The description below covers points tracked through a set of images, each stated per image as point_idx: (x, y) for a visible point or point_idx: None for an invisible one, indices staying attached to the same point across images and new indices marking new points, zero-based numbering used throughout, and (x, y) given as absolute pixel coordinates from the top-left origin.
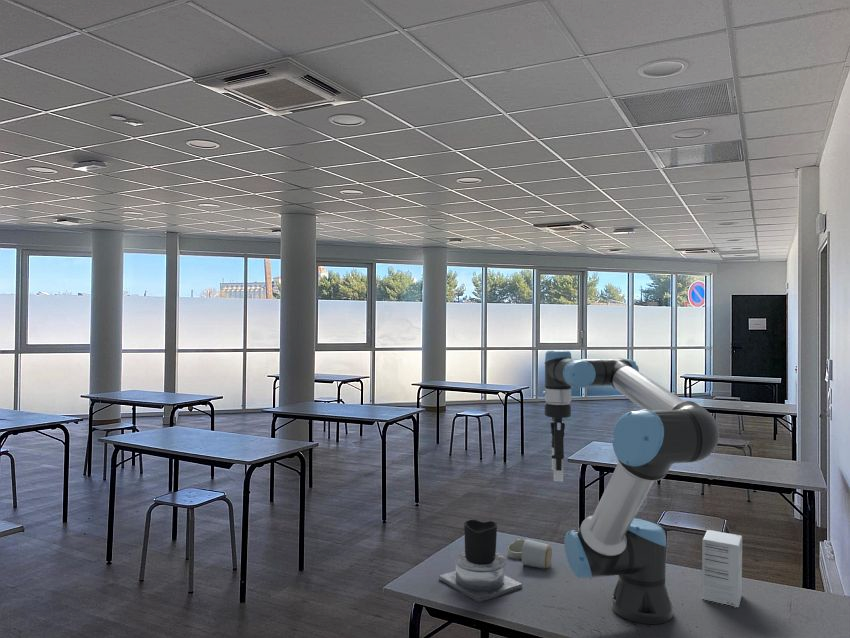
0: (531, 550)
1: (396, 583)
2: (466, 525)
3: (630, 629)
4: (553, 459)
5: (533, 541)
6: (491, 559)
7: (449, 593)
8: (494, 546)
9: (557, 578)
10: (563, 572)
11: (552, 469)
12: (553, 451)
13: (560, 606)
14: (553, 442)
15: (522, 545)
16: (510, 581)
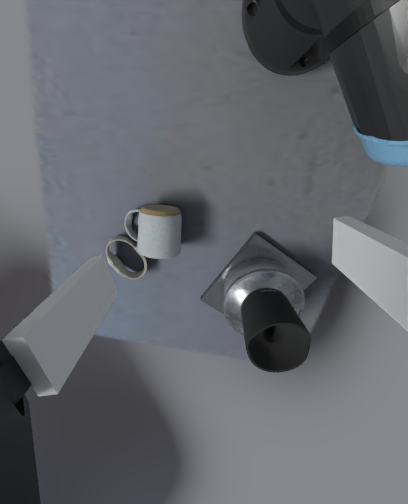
0: (176, 241)
1: None
2: (279, 365)
3: None
4: (93, 322)
5: (155, 244)
6: (280, 292)
7: None
8: (279, 300)
9: (200, 185)
10: (171, 178)
11: (115, 292)
12: (64, 364)
13: (306, 167)
14: (29, 447)
15: (114, 259)
16: (252, 250)
